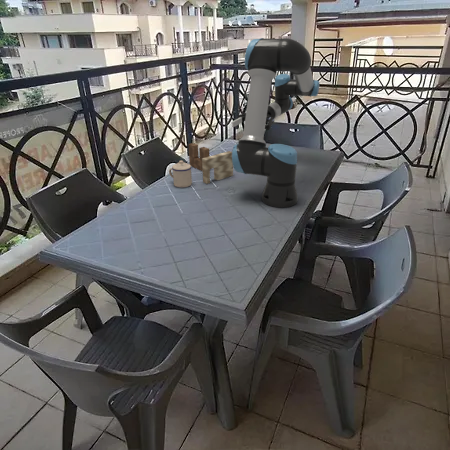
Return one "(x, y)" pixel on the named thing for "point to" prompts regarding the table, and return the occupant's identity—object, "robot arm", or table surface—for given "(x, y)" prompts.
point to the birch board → (217, 166)
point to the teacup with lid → (181, 174)
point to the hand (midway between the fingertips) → (242, 128)
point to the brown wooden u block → (194, 156)
